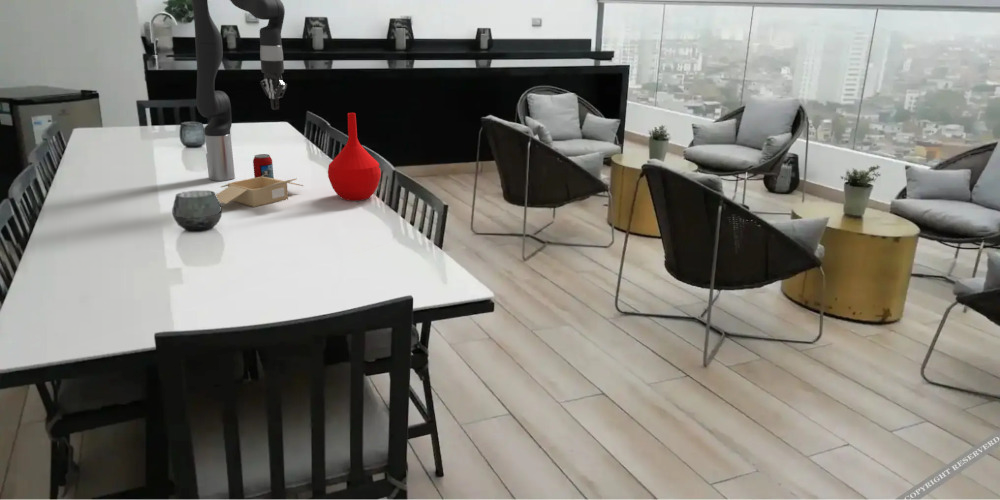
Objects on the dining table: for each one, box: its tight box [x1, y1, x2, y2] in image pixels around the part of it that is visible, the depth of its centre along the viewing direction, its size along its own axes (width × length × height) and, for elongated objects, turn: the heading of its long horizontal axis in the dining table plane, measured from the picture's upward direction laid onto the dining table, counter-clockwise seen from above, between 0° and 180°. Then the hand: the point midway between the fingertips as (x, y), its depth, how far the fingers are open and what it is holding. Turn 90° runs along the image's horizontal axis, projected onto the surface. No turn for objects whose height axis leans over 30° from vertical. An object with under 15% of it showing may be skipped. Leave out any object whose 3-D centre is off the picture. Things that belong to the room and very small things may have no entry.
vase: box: [327, 112, 382, 202], centre depth 258 cm, size 18×18×30 cm
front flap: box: [260, 177, 297, 189], centre depth 248 cm, size 9×9×1 cm
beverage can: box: [252, 153, 275, 179], centre depth 272 cm, size 7×7×12 cm
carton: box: [219, 176, 304, 208], centre depth 262 cm, size 23×23×6 cm
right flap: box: [215, 185, 247, 205], centre depth 247 cm, size 9×9×1 cm
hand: (275, 109), depth 260 cm, fingers closed
